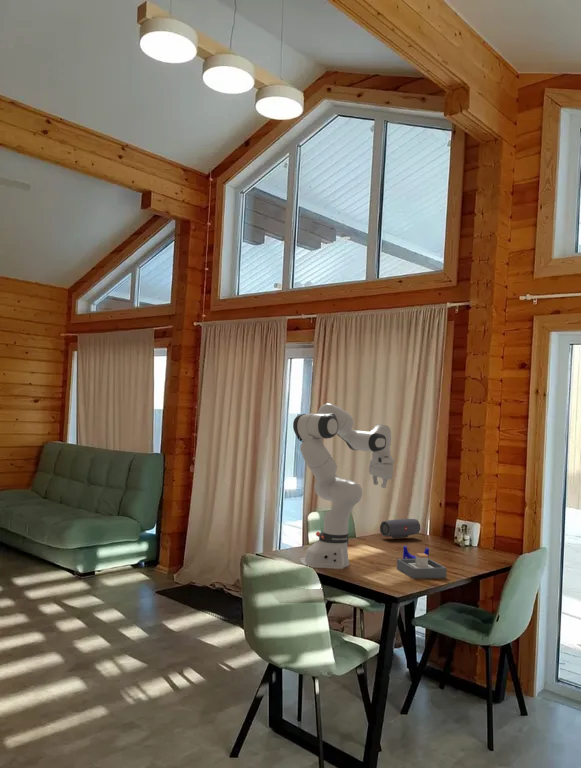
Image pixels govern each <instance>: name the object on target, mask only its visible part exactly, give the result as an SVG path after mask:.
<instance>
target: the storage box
mask: <svg viewBox="0 0 581 768" xmlns="http://www.w3.org/2000/svg"><path fill="white" fill-rule="evenodd" d="M415 562H416V559H403V558H397V559H396V569H397V570H398V571H400V572H401V573H403V574H405V575H407V576H408V577H410V578H411V579H447V571H448V570H447V567H445V566H444V565H442V564H440V563H439V562H436V561H434V560H433V559H431V558H428V568H418V567H416V566H415Z"/></svg>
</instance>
